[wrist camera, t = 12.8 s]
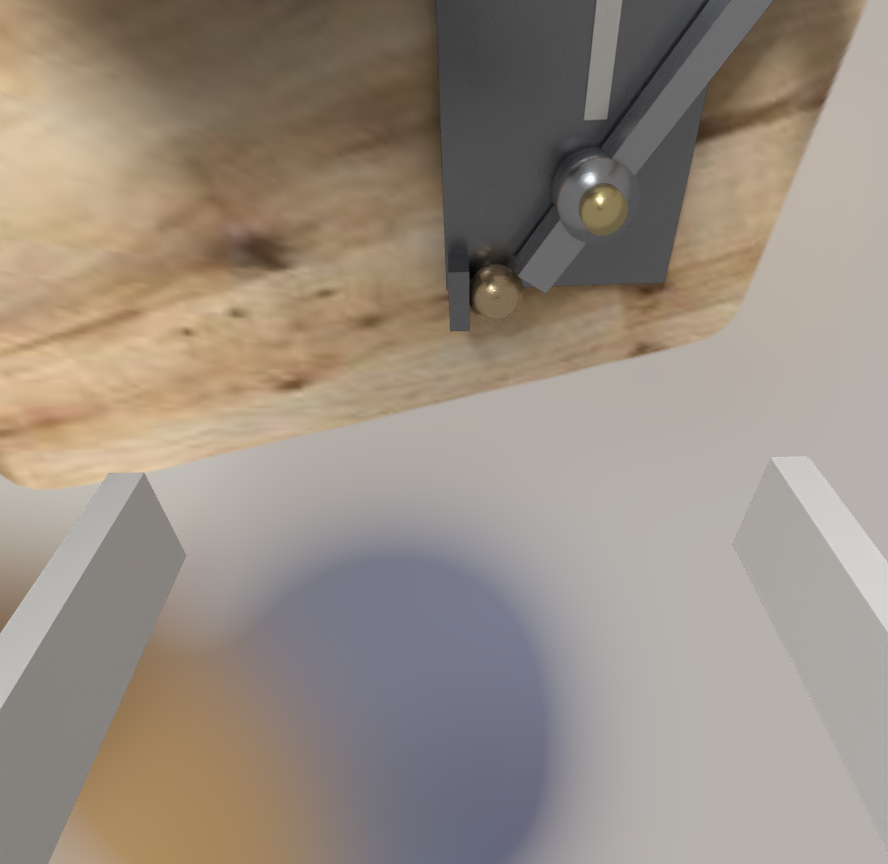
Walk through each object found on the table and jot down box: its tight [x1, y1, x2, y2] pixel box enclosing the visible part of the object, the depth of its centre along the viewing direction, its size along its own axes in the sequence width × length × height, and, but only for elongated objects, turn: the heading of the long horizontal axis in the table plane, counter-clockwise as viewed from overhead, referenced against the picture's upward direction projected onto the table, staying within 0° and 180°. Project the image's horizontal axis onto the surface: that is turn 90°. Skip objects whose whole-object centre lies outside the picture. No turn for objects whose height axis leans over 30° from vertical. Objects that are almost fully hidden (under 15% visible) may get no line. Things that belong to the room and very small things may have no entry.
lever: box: [514, 0, 773, 293], centre depth 28 cm, size 25×5×13 cm, turn 148°
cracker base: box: [436, 0, 710, 331], centre depth 34 cm, size 23×17×7 cm
